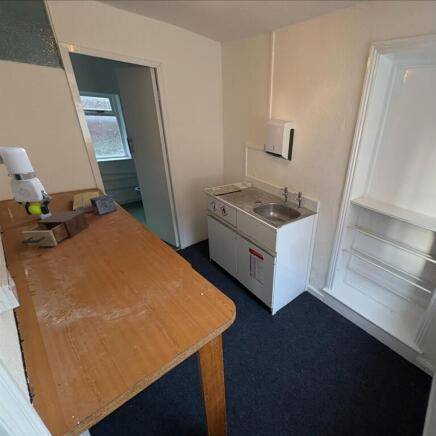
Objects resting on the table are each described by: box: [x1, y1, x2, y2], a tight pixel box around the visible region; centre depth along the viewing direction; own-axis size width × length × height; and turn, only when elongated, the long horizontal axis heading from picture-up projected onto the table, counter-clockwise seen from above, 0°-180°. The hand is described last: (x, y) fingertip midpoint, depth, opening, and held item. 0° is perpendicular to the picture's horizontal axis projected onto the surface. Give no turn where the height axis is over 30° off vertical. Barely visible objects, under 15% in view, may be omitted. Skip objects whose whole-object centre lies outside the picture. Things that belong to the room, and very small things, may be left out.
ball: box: [28, 202, 43, 216], centre depth 109 cm, size 6×6×6 cm
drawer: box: [21, 223, 69, 247], centre depth 114 cm, size 18×11×8 cm, turn 9°
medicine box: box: [38, 206, 52, 220], centre depth 140 cm, size 8×4×9 cm, turn 55°
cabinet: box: [36, 210, 90, 239], centre depth 125 cm, size 15×13×10 cm
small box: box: [90, 194, 117, 216], centre depth 153 cm, size 11×6×10 cm, turn 154°
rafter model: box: [72, 191, 100, 213], centre depth 164 cm, size 35×14×6 cm, turn 39°
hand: (39, 213), depth 110 cm, fingers closed on ball, 5 cm apart
